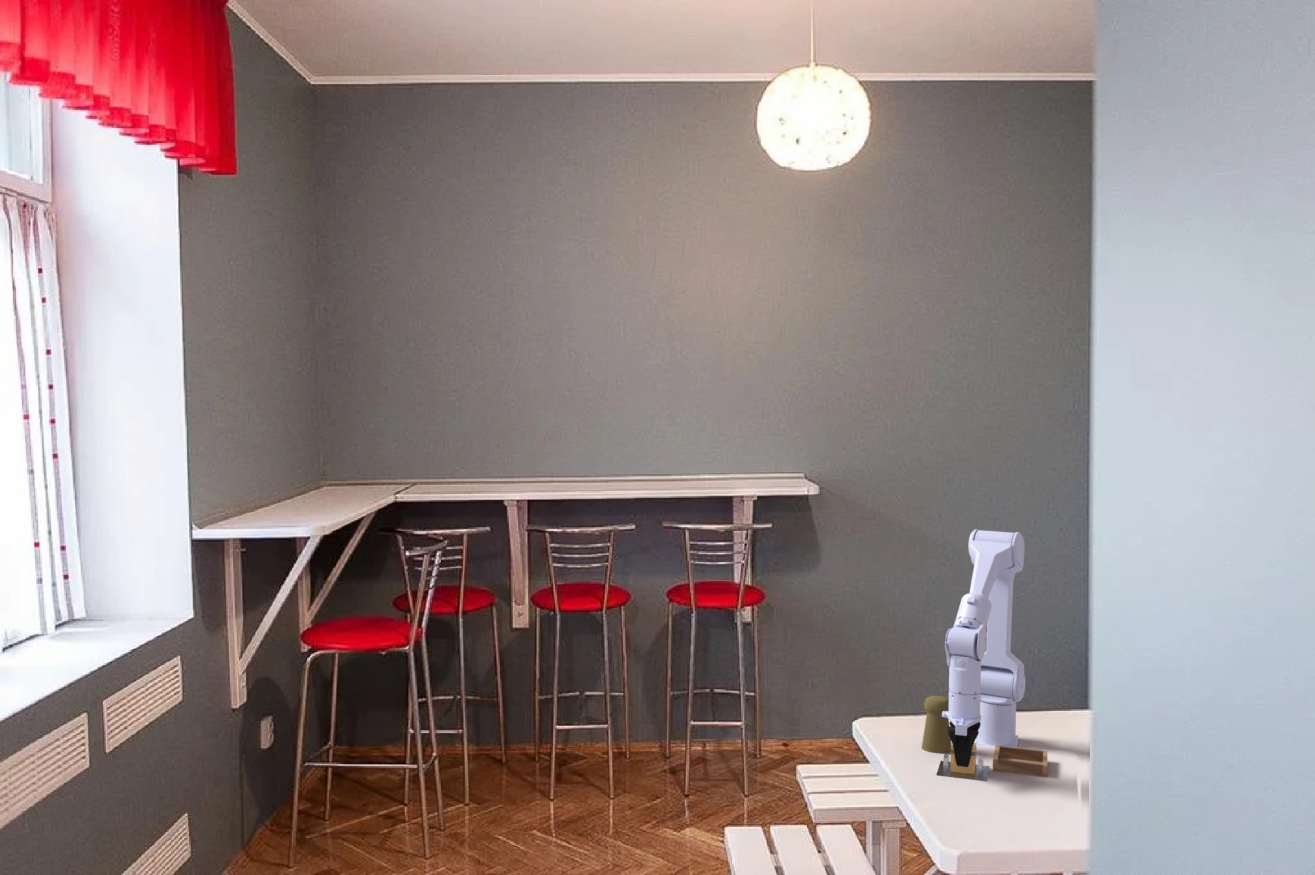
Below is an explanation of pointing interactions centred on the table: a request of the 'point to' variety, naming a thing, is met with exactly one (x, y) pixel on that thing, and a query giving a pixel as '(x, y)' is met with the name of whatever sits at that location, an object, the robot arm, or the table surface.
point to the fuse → (954, 768)
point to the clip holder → (979, 775)
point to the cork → (936, 725)
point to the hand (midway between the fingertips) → (963, 763)
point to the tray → (1020, 761)
